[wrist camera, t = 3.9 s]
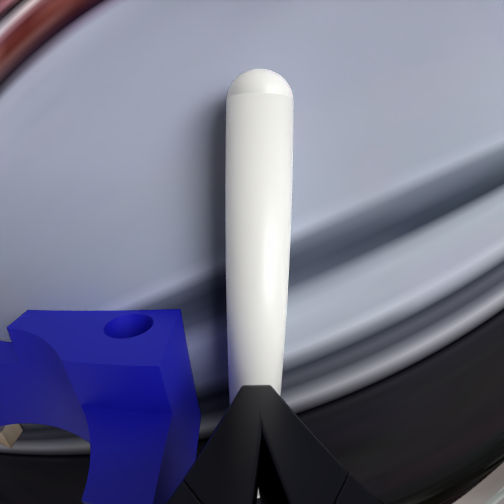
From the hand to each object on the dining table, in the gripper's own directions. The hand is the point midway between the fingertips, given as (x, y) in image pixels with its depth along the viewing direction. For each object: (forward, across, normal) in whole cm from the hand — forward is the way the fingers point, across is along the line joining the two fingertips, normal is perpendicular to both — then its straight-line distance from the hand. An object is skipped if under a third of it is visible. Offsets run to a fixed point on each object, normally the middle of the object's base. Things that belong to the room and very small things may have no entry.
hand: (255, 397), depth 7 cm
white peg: (+3, 0, 0) cm, 3 cm away
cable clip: (+3, +8, +2) cm, 9 cm away
